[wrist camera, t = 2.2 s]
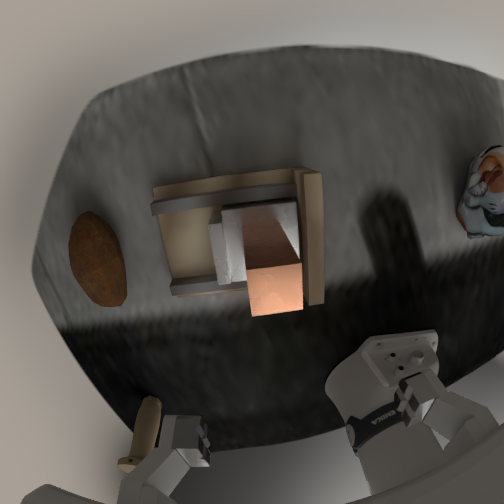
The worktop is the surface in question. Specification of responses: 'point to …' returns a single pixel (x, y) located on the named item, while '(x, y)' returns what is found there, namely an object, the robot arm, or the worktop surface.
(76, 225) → the potato
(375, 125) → the worktop surface
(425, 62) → the worktop surface
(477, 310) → the worktop surface
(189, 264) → the frame
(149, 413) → the handle
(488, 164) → the lucky cat figurine
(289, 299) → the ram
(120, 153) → the worktop surface
